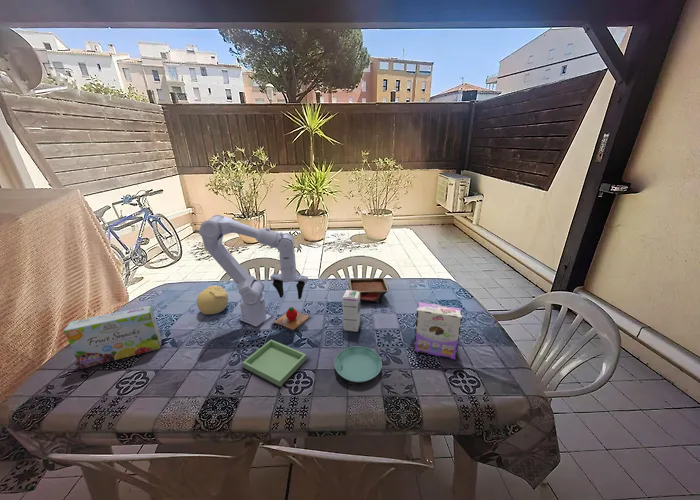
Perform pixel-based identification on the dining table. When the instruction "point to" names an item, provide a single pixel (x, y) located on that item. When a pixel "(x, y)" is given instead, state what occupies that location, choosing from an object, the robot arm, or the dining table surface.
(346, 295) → the syrup box
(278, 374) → the tray
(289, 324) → the board
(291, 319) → the strawberry
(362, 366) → the saucer
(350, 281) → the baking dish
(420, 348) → the candy box
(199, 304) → the sculpture
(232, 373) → the dining table surface
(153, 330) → the snack box
